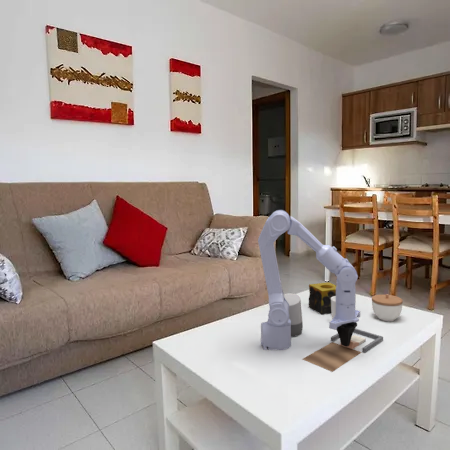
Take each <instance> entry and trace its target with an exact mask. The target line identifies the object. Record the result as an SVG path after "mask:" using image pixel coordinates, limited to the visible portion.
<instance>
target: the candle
mask: <svg viewBox="0 0 450 450" xmlns="http://www.w3.org/2000/svg"><path fill="white" fill-rule="evenodd" d="M308 292H309V296H308V308H310V309H311V310H313V311H315V312H316V313H318V314H319V315H328V314H332V313H331V297H333V296H336V285H335V284H334V283H332V282H330V281H329V282H320V283H319V282H318V283H310V284H309V285H308Z"/></svg>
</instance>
